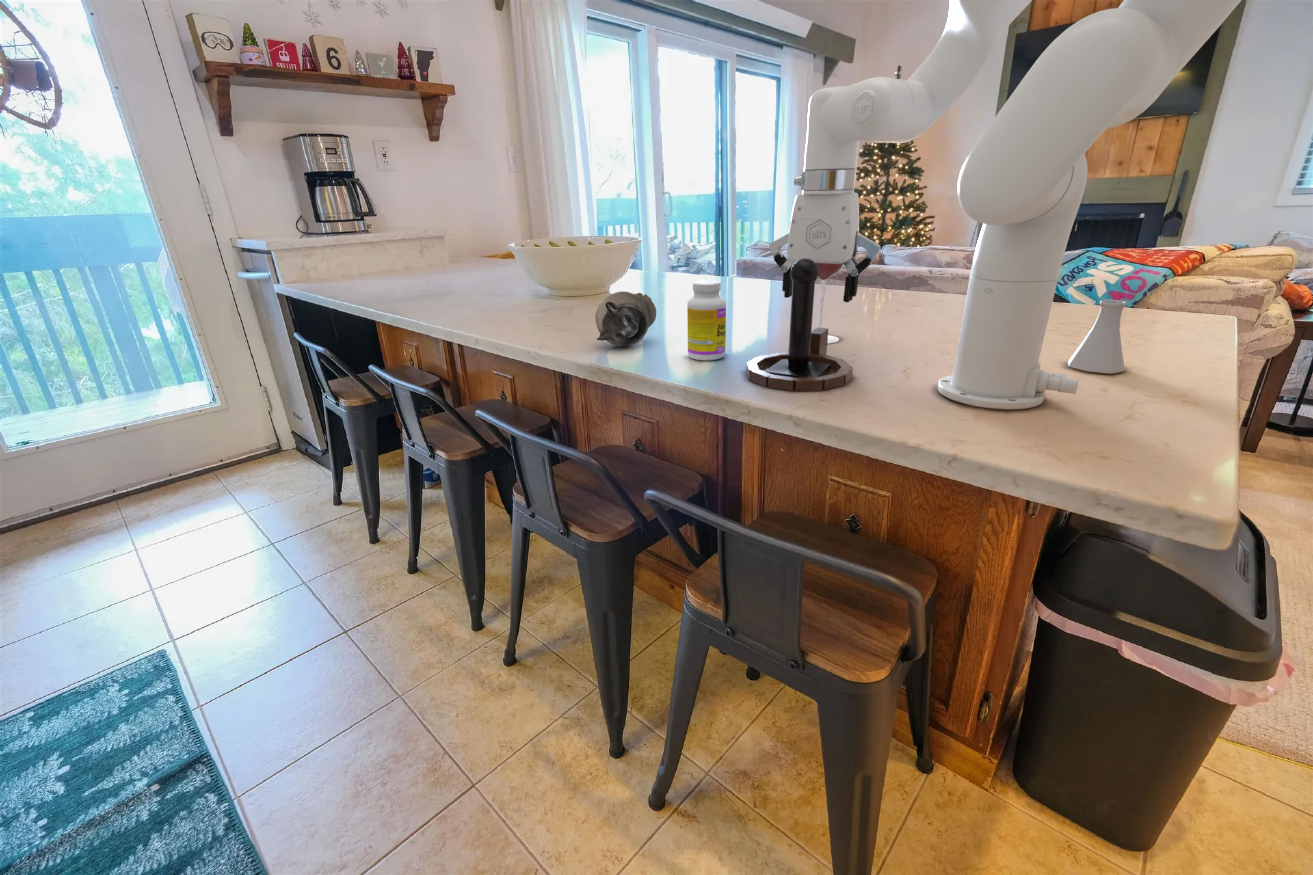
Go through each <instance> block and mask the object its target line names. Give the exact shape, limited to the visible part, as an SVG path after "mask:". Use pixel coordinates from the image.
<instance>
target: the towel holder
mask: <svg viewBox="0 0 1313 875" xmlns="http://www.w3.org/2000/svg"><path fill="white" fill-rule="evenodd" d="M818 273H819V271H818V266H817V265H816V263H815V262H814V261H812V260H811V259H806V258H804V259H800V260H798V261H796V262H795V263H794V264H793V266H792V268H791V271H790V277H791V280H792V281H793V282H792V296H791V302H790V319H789V320H790V321H789V335H788V337H789V339H788V352H789V353H788V359H782V360H780V361H779V362H777V363H776V364H774V365H773V366H770V367H768V368H767V369H766V370H764V371H765V372H767V373H770V374H773V375H778V376H786V377H794V378H799V377H821V376H826V375H829V374H830V373H831V372H832V370H831V364H825V363H816V362H809V359H810V345H811V331H813V330H812V328H813V315H814V314H813V313H814V301H815V300H814V299H815V288H816V281H817V279H818V278H819V277H818Z"/></svg>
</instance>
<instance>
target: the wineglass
mask: <svg viewBox="0 0 1313 875" xmlns="http://www.w3.org/2000/svg"><path fill="white" fill-rule="evenodd" d="M816 265H817V266H818V271H819V273H818V277H817V278H819V279H820V280H821V281H820V292H819V294H820V295H819V307H818V318H817V328H823V316H824V305H825V293H826V280H827V279H828V278H830V277H832V276H833V275H835V274H836V273H837V272H839V271H840V270H841V269H842V267H843V266H844V265H843V263H840V264H831V263H816ZM839 341H840V338H839V337H838V336H834V335H830V334H828V341H827V344H835V343H837V342H839Z"/></svg>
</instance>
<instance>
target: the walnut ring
mask: <svg viewBox="0 0 1313 875" xmlns="http://www.w3.org/2000/svg"><path fill="white" fill-rule="evenodd" d="M828 335H829V328H827V327H822V328H818V327H816V328H814V329H813V330H812V331H811V345H810V359H809V362H816V363H825V364H831V371H833V372H835V373H831V374H830V373H829V374H827V375H826V376H821V377H799V378H794V377H786V376H778V375H773V374H770V373H767V372H765V371H766V370H763V369H765V368H770V367H772V366H773V365H774V364H776V363H777V362H779V361H780V360H782V359H788V353H789V351H788V352H786V351H785V352H773V353H768V354H763V355H758V356H755V357H754V358H752V359H751V360H749V361H747V362H746V367H745V368H746V375H747V378H748V380H749V381H750V382H752V383H755V384H758V385H760V386H762V387H765V388H768V389H774V390H775V389H776V390H780V391H781V390H782V391H790V392H818V391H819V392H822V391H828V390H831V389H835V388H840V387H844V386H846V385H847V384H848V382H849V381H851V380H852V378H853V369H854V368H853V366H852V365H851V364H850V363H849V362H848V361H847V360H845V359H842V358H839V357H836V356H832V355H830V354H827V350H828V343H827V341H828Z"/></svg>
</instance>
